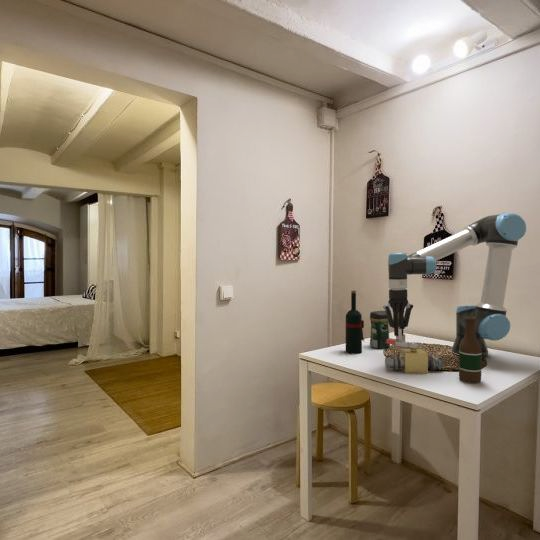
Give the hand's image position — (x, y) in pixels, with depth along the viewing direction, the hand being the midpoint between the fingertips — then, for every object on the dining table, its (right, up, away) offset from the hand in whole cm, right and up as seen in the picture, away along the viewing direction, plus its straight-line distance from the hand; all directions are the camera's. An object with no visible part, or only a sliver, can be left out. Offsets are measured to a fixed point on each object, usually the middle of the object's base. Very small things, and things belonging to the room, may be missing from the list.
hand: (398, 343), depth 164 cm
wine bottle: (-14, -9, +22) cm, 27 cm away
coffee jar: (0, -8, +30) cm, 32 cm away
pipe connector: (+7, -9, +14) cm, 18 cm away
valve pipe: (+3, -10, -8) cm, 13 cm away
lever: (0, 0, -4) cm, 4 cm away
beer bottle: (+20, -10, -20) cm, 30 cm away
